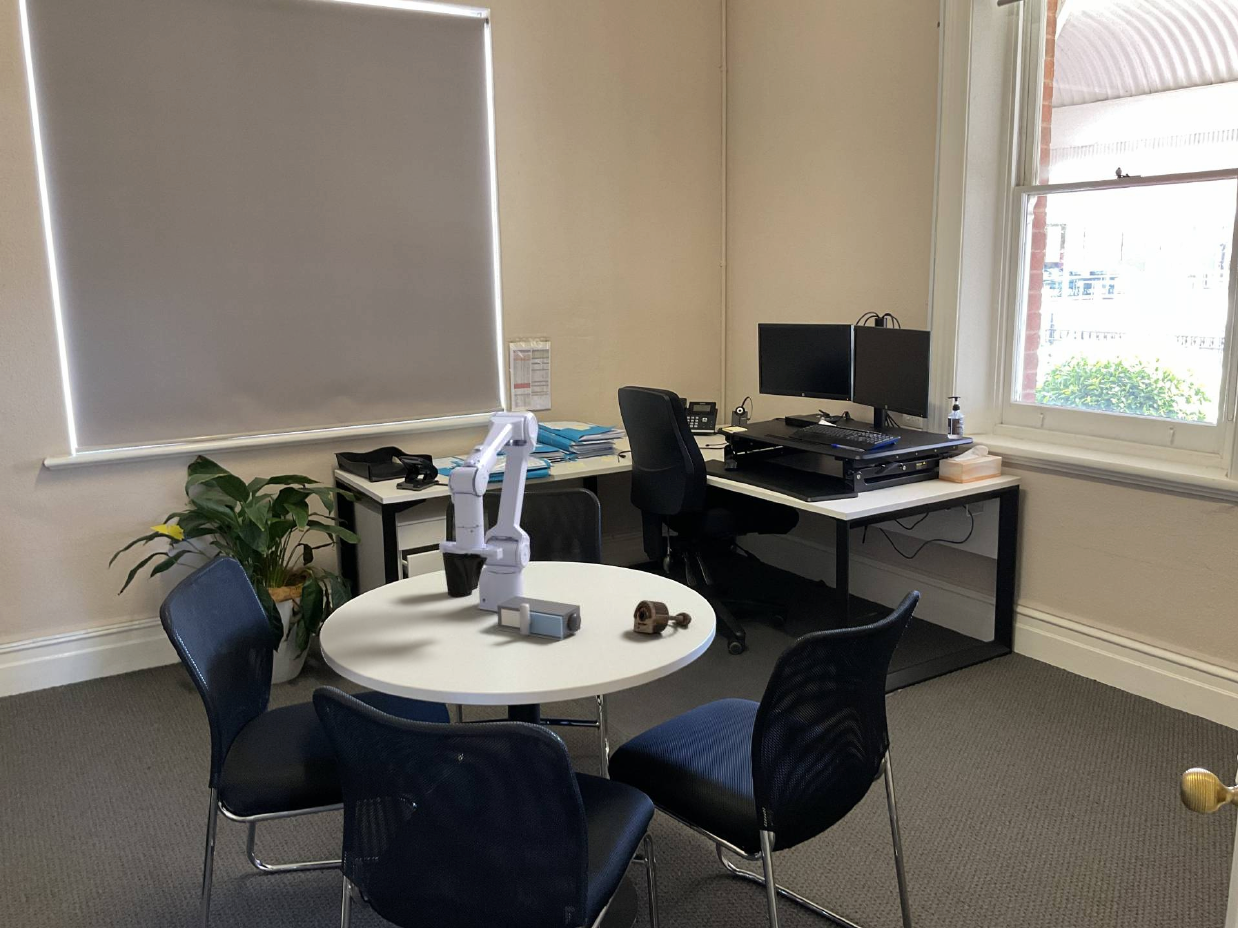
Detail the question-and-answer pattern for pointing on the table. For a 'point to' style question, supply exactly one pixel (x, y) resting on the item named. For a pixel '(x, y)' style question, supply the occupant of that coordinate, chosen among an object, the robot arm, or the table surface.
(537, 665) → the table surface
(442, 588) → the table surface
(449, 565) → the cup
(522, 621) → the door
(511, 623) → the housing
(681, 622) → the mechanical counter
